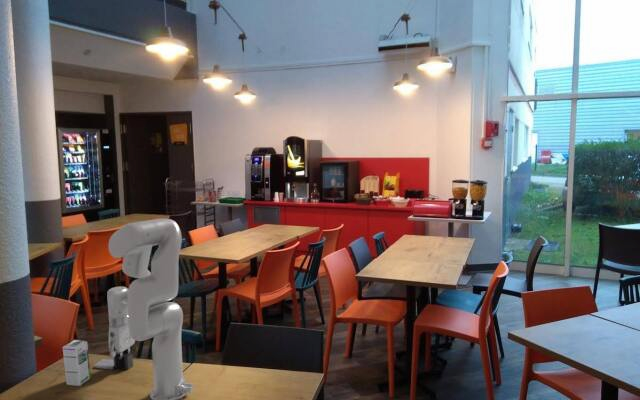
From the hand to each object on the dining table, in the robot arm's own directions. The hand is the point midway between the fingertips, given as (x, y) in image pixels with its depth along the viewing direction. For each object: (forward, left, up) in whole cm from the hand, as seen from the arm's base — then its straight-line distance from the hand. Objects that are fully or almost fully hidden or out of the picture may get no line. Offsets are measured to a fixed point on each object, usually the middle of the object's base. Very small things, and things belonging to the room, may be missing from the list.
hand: (123, 365), depth 178 cm
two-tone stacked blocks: (+4, 0, -1) cm, 4 cm away
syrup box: (+9, +13, -1) cm, 16 cm away
